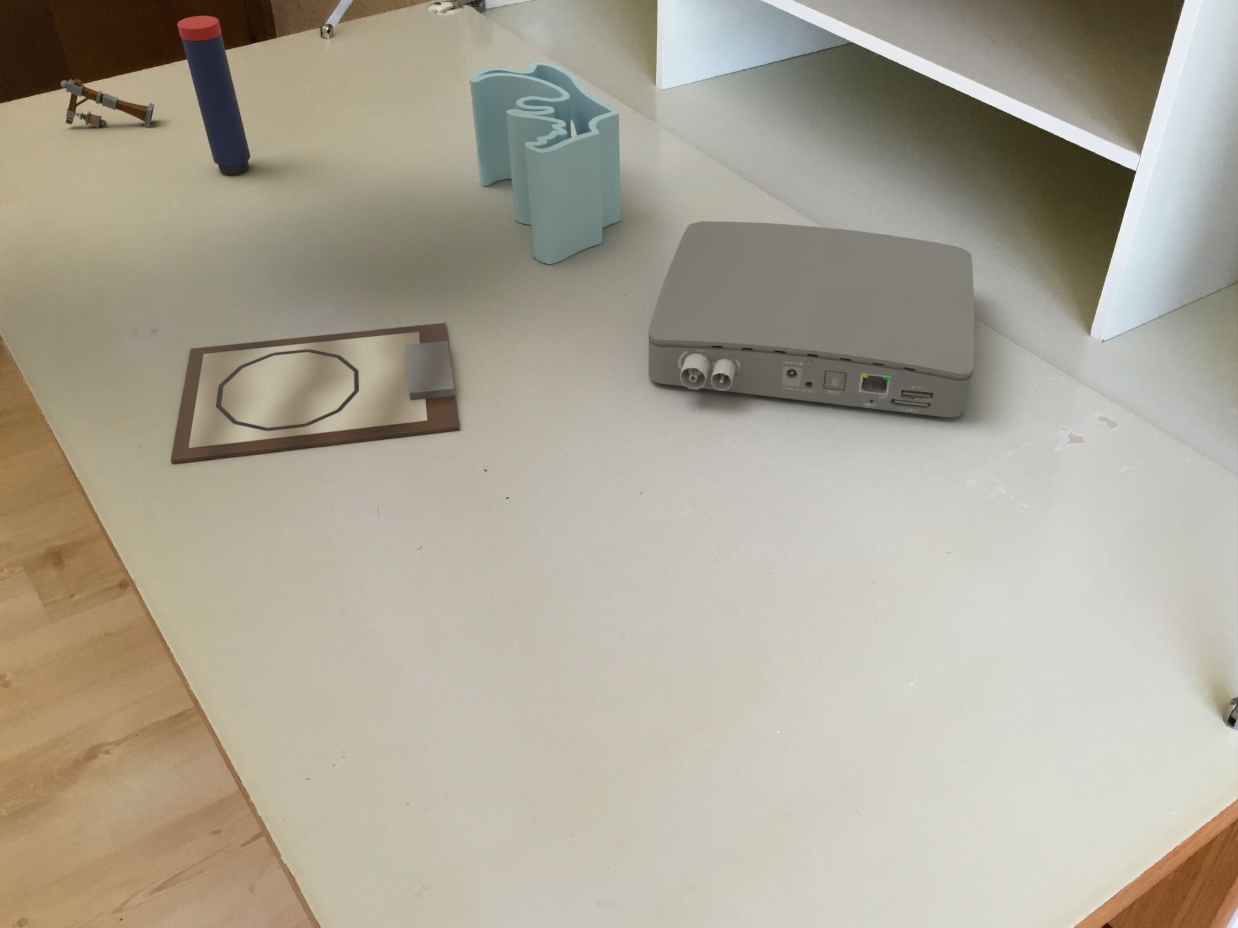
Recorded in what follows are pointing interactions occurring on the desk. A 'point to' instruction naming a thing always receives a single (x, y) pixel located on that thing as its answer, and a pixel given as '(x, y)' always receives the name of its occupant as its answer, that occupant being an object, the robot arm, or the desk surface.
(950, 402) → the electronic device
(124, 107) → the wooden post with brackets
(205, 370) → the clipboard
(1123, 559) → the desk surface
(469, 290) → the desk surface
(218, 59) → the marker
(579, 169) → the squiggly pen holder
